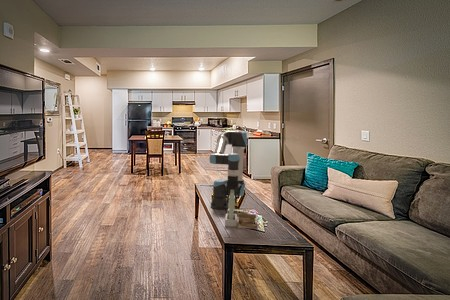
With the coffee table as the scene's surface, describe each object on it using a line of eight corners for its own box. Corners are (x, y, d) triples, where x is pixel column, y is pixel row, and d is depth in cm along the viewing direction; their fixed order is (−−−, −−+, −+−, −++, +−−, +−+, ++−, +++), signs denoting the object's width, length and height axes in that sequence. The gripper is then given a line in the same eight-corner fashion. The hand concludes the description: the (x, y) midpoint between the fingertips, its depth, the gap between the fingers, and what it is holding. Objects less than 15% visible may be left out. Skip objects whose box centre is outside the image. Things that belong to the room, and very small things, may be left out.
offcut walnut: (239, 223, 237) (239, 220, 237) (250, 222, 240) (250, 219, 240) (241, 225, 233) (241, 222, 233) (253, 223, 237) (253, 221, 236)
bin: (225, 220, 249) (225, 213, 248) (236, 220, 248) (237, 214, 248) (224, 226, 235) (225, 219, 234) (236, 227, 234) (236, 220, 234)
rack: (236, 221, 247) (237, 213, 247) (255, 222, 247) (256, 214, 246) (236, 227, 233) (237, 219, 233) (256, 228, 233) (257, 220, 232)
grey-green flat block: (228, 220, 236) (230, 192, 234) (229, 216, 246) (230, 189, 244) (233, 220, 236) (234, 193, 234) (233, 216, 246) (234, 189, 244)
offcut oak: (241, 220, 236) (241, 218, 236) (248, 219, 239) (248, 217, 239) (243, 222, 233) (243, 220, 233) (251, 221, 236) (251, 219, 235)
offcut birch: (239, 225, 238) (239, 222, 238) (253, 226, 239) (253, 222, 239) (239, 227, 234) (239, 224, 234) (253, 228, 235) (254, 224, 235)
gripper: (221, 175, 234) (220, 208, 237) (244, 176, 233) (242, 209, 236) (221, 173, 242) (220, 205, 244) (244, 174, 241) (242, 206, 243)
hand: (231, 207), depth 240 cm, fingers closed on grey-green flat block, 3 cm apart
